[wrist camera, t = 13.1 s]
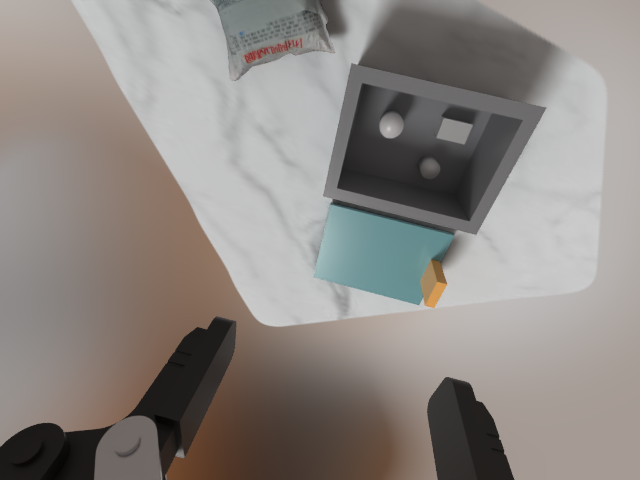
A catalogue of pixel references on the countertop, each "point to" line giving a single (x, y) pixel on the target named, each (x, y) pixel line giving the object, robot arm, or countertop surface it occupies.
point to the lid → (383, 255)
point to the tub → (425, 148)
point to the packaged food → (271, 30)
